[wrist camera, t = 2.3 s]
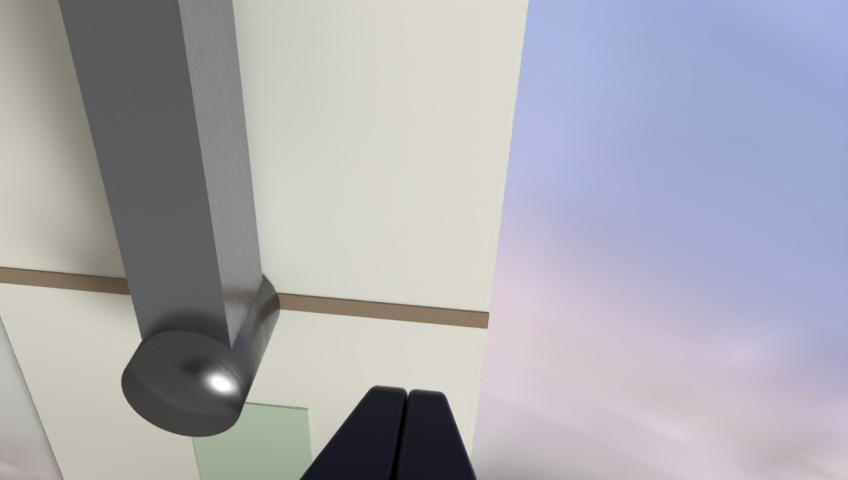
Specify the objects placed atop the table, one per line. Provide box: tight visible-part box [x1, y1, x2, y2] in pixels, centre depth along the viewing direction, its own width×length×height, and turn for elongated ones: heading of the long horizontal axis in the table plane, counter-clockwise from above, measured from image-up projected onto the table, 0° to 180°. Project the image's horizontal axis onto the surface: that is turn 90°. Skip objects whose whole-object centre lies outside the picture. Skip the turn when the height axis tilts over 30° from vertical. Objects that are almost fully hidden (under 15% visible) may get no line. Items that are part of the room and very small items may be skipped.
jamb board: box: [0, 0, 528, 480], centre depth 23 cm, size 16×26×1 cm, turn 177°
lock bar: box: [58, 0, 280, 437], centre depth 18 cm, size 13×3×4 cm, turn 177°
